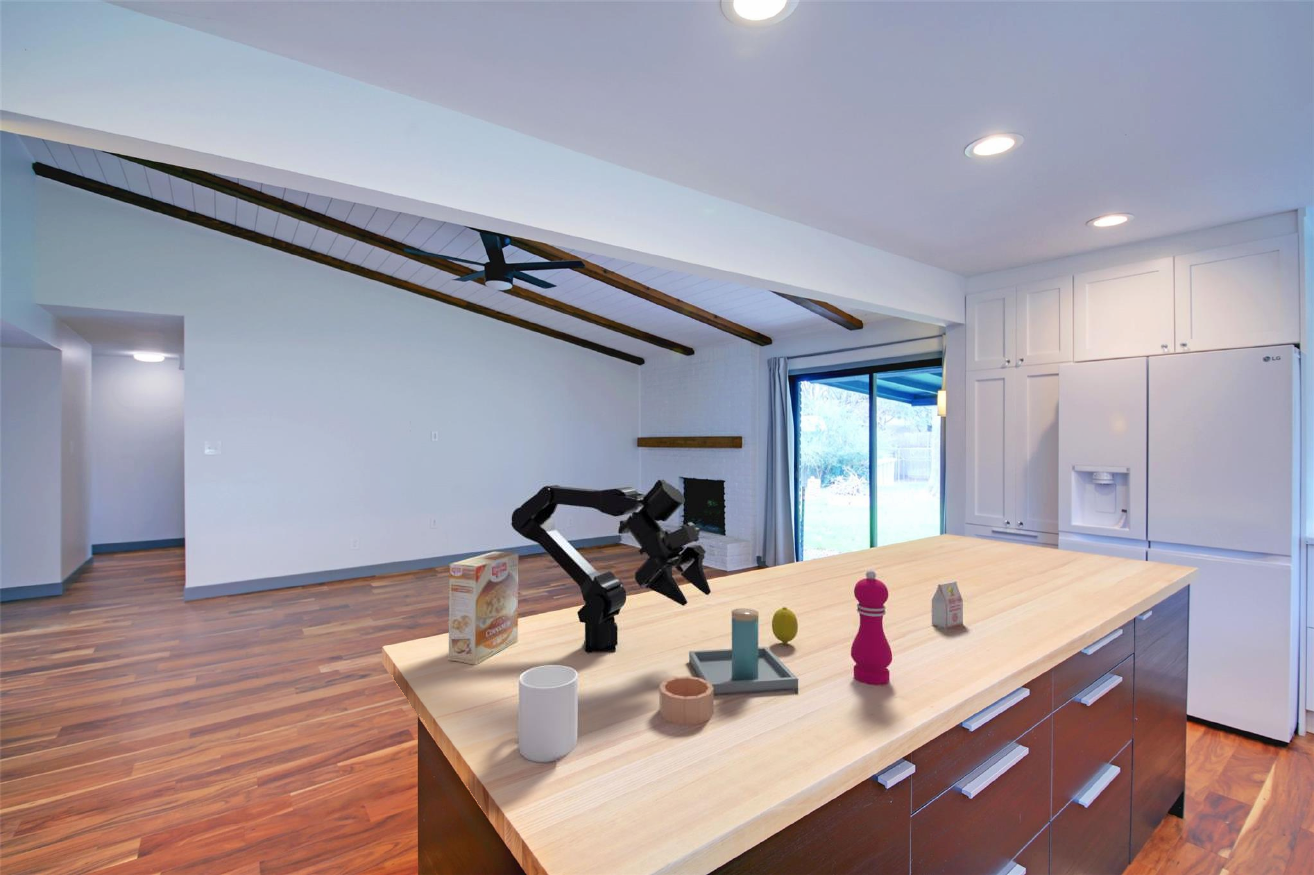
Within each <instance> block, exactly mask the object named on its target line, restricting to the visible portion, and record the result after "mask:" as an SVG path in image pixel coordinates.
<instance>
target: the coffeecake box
mask: <svg viewBox="0 0 1314 875" xmlns="http://www.w3.org/2000/svg"><path fill="white" fill-rule="evenodd" d="M519 556H520V555H519V553H517V552H516V553H515V552H507V551H505V552H504V551H492V552H491V551H490V552H488V553H485V554H481V555H478V556H473V557H469V558H467V559H463V560H459V561H455V562H452V563H449V564H448V566H449V581H448V582H449V590H448V591H449V595H448V598H449V599H448V601H449V602H448V607H449V609H448V615H449V616H448V661H452V662H459V663H464V664H469V665H478V664H480V663H482V662H483V661H484V660H486V659H488V658H490V657H491V656H494V655H496V654H497V653H499V652H500V651H502V650H504V649H506V648H508V647H509V646H512V645H513V644H515V643H517V642H518V641H519V639H518V638H519V636H518V635H519Z"/></svg>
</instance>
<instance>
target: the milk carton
mask: <svg viewBox="0 0 1314 875" xmlns="http://www.w3.org/2000/svg"><path fill="white" fill-rule="evenodd" d="M963 606H964V599H963V596H962V594H961V592H960V590H959V586H958V584H957V581H950V582H949V581H948V582H945V583H941V584H938V585H937V587H936V591H935V592H934V594H933V597H932V598H931V625H932V624H933V625H932V626H935V625H937V626H936V627H938V626H940V627H939V628H942V627H944V628H943V629H945V628H946V630H947V629H950V627H951V628H953V627H957V626H958V627H959V626H962V625H964V611H963V610H964V607H963Z"/></svg>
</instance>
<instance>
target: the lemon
mask: <svg viewBox="0 0 1314 875" xmlns="http://www.w3.org/2000/svg"><path fill="white" fill-rule="evenodd" d="M798 623H799V622H798V619H797V616H796V614H795V613H794V612H793V611H792V610H791V609H789V608H787V607H786V606H782V608H779V609H777V610H776V611H775V612H774V614H773V616H772V619H771V628H772V630H771V631H772V633H773V635H774V637H775V638H776V639H777V640H778V641H780V642H781V643H782V644H783V643H784V644H783V645H786V644H788V643H789V642H791V641H792V640H794V639H795V637H797V634H798V629H799V628H798V627H799V624H798Z"/></svg>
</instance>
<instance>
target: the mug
mask: <svg viewBox="0 0 1314 875" xmlns="http://www.w3.org/2000/svg"><path fill="white" fill-rule="evenodd" d="M578 676H579V675H578V672H577V671H576V669H575V668H573V667H570V666H565V665H559V664H558V665H557V664H556V665H555V664H549V665H541V666H534V667H532V668H530V669H527V670H525V671H524V672H522V673H521V674H520V675H519V676H518V748H519V752H520V754H521V755H522V756H523V757H524V758H525V759H526V760H528V761H531V762H535V763H541V764H542V763H553V762H557V761H560V758H561V757H564V756H566V755H568V754H570V753H571V752H572V751H574V749H575V748H576V747H577V744H578V720H579V719H578V713H579V712H578V709H579V707H578V706H579V705H578V702H579V701H578V700H579V699H578V695H579V694H578V693H579V692H578V690H579V686H578V682H579V679H578V678H579V677H578Z"/></svg>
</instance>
